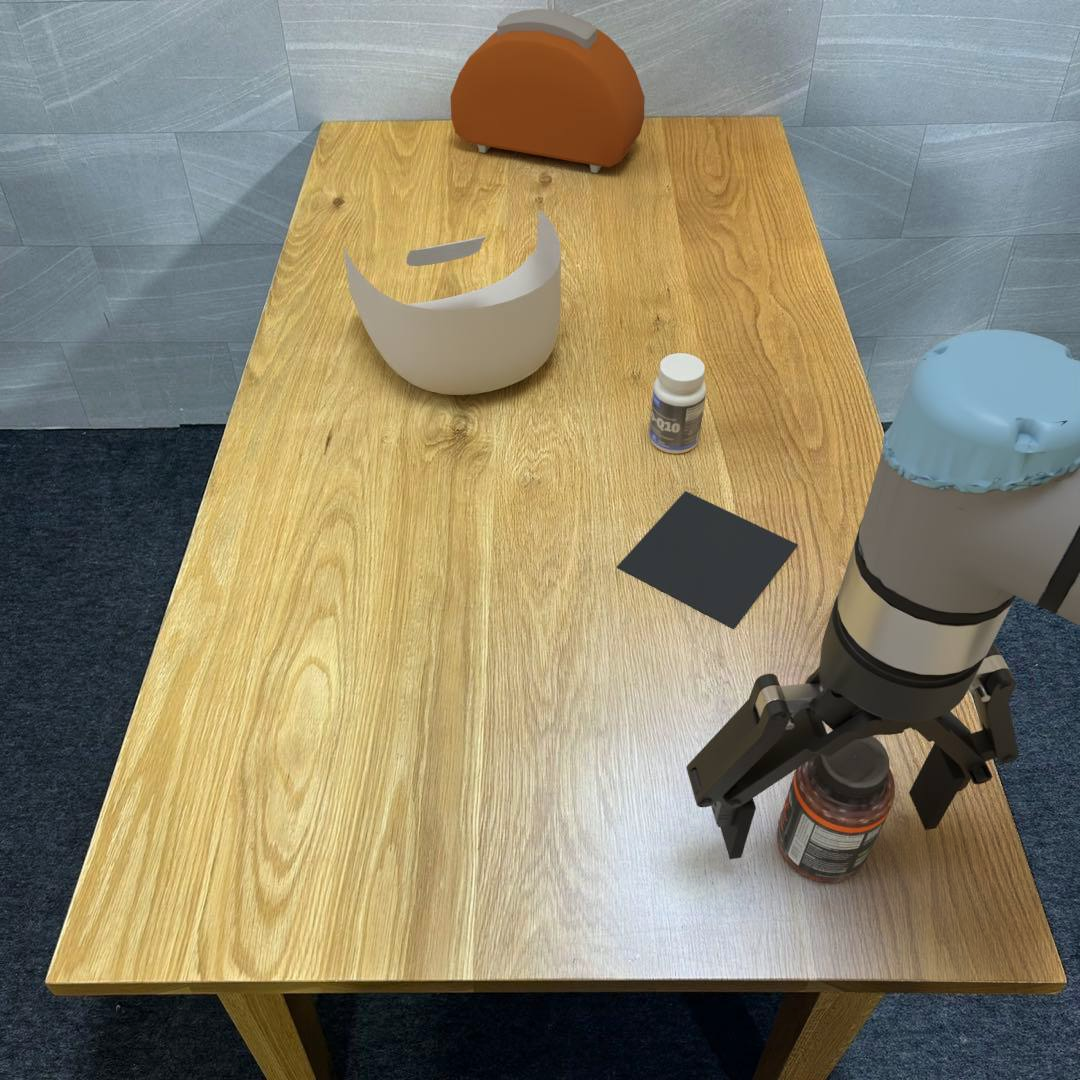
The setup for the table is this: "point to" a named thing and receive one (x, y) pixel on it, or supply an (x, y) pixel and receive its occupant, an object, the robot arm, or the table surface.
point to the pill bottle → (678, 403)
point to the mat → (708, 558)
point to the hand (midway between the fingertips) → (826, 824)
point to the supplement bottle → (836, 811)
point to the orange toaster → (549, 91)
